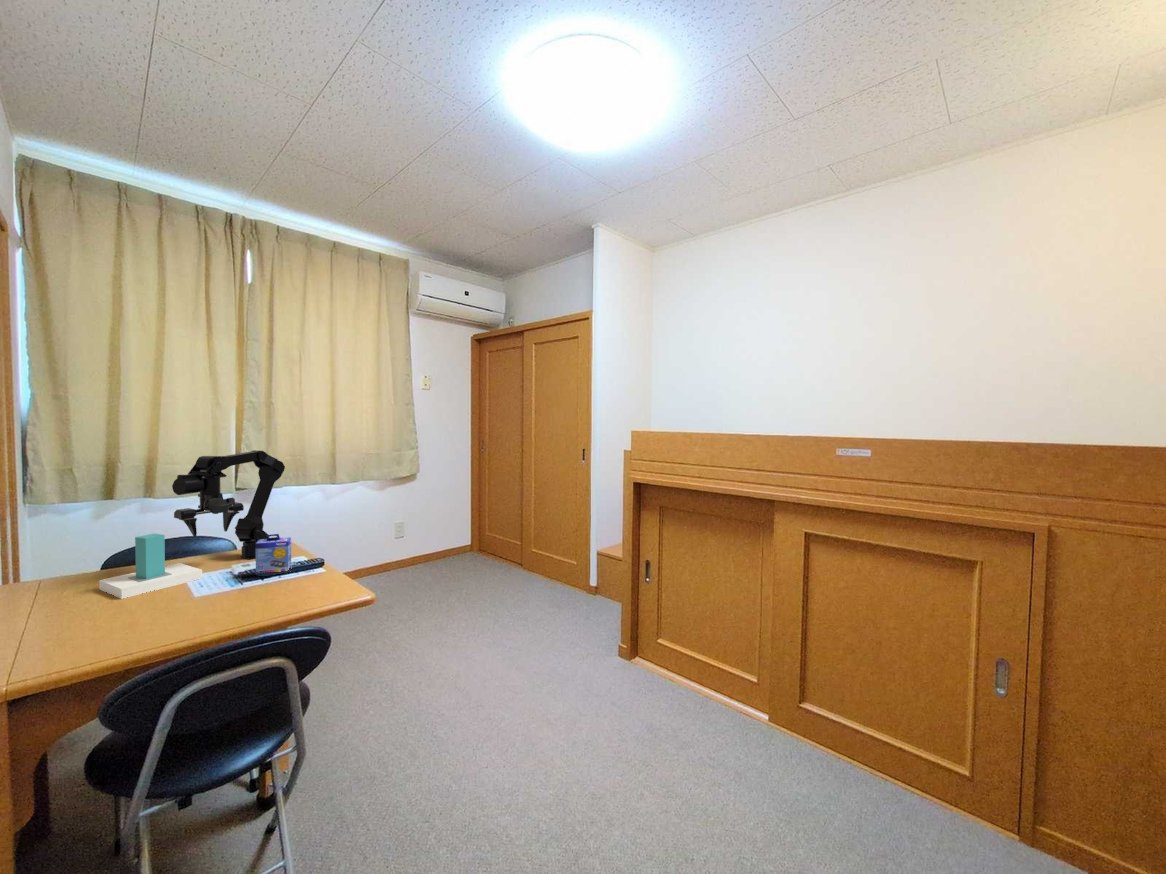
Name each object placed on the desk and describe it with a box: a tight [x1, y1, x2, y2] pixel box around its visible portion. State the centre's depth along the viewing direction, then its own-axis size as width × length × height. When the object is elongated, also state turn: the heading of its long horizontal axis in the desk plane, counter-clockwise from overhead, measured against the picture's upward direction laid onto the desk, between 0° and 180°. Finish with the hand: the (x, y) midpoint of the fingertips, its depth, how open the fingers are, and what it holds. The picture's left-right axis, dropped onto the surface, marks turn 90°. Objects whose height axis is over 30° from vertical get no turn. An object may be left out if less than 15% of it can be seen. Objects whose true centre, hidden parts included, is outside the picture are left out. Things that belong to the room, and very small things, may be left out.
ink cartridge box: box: [255, 533, 292, 573], centre depth 156 cm, size 10×6×14 cm, turn 115°
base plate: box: [98, 562, 203, 600], centre depth 146 cm, size 20×16×3 cm
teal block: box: [134, 533, 166, 579], centre depth 144 cm, size 5×5×13 cm
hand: (210, 534), depth 160 cm, fingers open, 9 cm apart
